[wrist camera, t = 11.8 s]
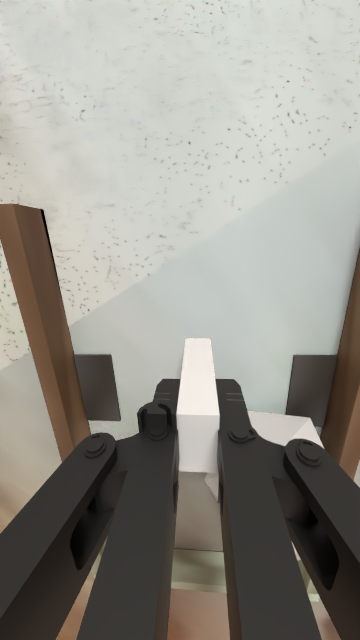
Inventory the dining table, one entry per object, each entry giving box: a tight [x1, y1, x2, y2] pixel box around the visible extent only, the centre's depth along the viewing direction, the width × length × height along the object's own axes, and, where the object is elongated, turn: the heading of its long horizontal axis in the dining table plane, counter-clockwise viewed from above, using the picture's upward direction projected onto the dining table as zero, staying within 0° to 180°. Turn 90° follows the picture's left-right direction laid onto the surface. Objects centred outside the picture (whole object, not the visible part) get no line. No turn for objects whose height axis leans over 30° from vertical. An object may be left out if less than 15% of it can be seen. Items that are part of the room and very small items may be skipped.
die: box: [204, 411, 324, 561], centre depth 16 cm, size 8×9×10 cm
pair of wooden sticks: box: [0, 204, 360, 602], centre depth 18 cm, size 21×34×2 cm, turn 2°
